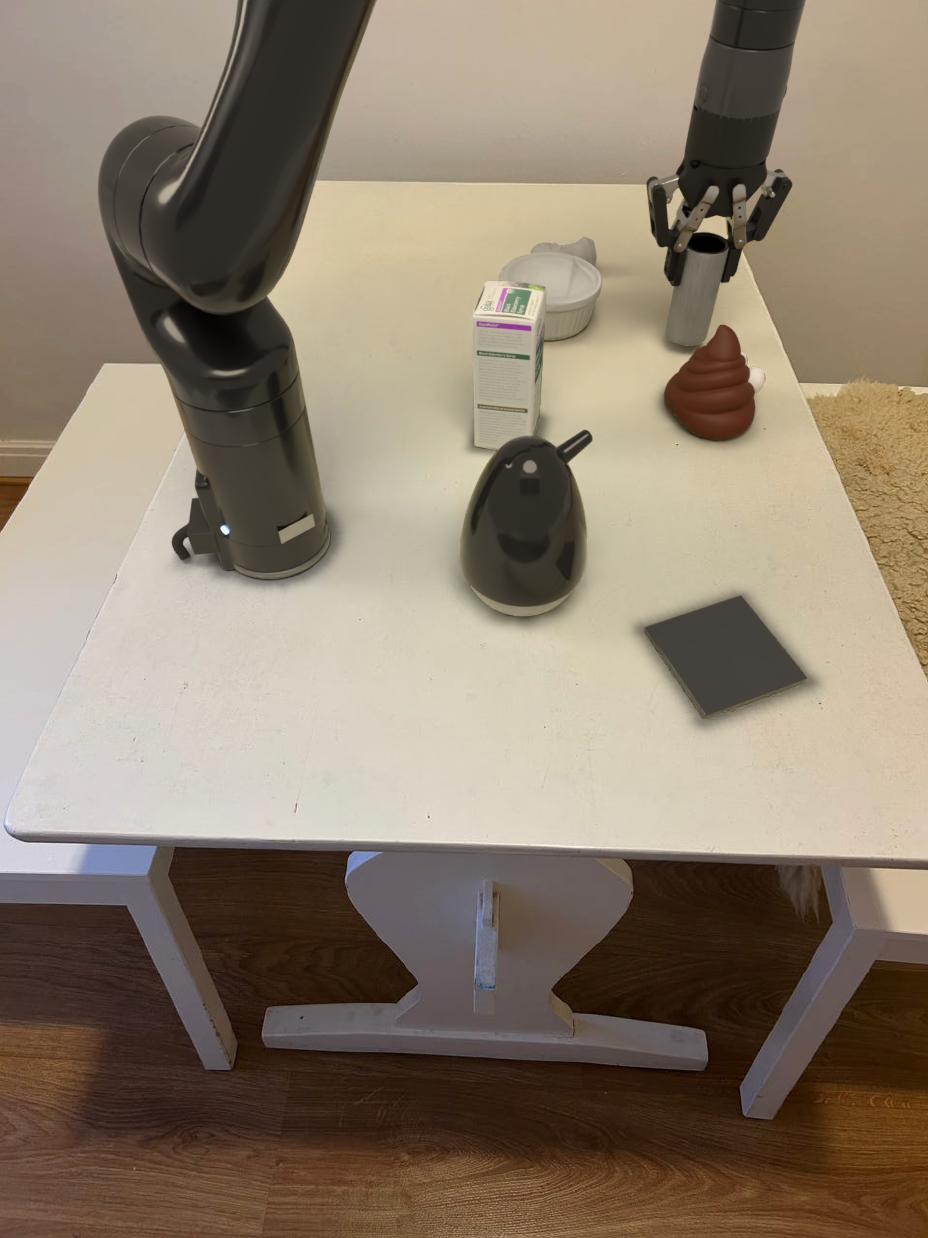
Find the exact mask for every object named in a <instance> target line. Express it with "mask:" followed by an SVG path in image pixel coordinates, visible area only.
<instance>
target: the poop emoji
mask: <svg viewBox="0 0 928 1238" xmlns="http://www.w3.org/2000/svg"><path fill="white" fill-rule="evenodd" d="M741 347H742V346H741V343H740V340H739V337H738V335H737V333H736V332H735V331H734V330H733V328H731V326H728V325H726V324H719V325H718V326H717V328H716V331H715V332H714V334H713V336H712V338H710V340H709V341H708V342H707V343H706V344H705V345H702V346H700V347H698V348H696V349H695V350H694V351H693V353H692V355H691V356H690V357H689V359H688V360H687V361H686V362H684V363H683V364H682V365H681V366H680V368H679V369H678V371H677V372H676V373H675V374H674V375H672V377H670V379H669V380H668V382H667V384H666V385H665V388H664V392H663V398H664V404H665V405H666V408H667V409H668V410H669V412H671V413H672V414H673V415H675V417H676V418H677V420H678V421H679V423H680V424H681V425H682V426H683V428H685V429H686V430H687V431H689V432H690V433H692V434H694V436H695V435H696V436H698V437H699V438H703V439H707V440H714V441H721V440H729V439H733V438H736V437H739V436H740V435H743V434H744V433H745V432H746V431H747V430H748V429H749V428H750V427H751V425H752V424H753V421H754V419H755V415H756V401H755V394H757V393H759V392H760V391H761V390H762V389H763V387H764V385H765V382H766V373H764V371H763V370H762V369H761V368H760V367H757V366H751V367H749V366H748V362H749V359H748V356H747V354H746V353H745V352H744V351H743V350H742V348H741Z"/></svg>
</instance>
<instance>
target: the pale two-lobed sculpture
mask: <svg viewBox="0 0 928 1238" xmlns="http://www.w3.org/2000/svg"><path fill="white" fill-rule="evenodd" d="M538 252H558V253H564V254H569V255H573V256H576V257H579V258H581V259H583V260H586V261H587V262H589V263H590V264H592V265H593V266H594V267H595V265H596V263H597V259H598V256H597V255H598V254H597V248H596V245H595V242H594V240H593V239H591V238H589V237H587V236H582V237H581V238H580V239H578V240H577V241H575V242H572V243H566V244H559V243H556V242H548V241H547V242H545V241H544V242H539V243H537V244H535V245H534V246H533V247H532V248H531V250H530V252H529V254H531V253H538Z"/></svg>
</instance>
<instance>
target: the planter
mask: <svg viewBox="0 0 928 1238" xmlns="http://www.w3.org/2000/svg"><path fill="white" fill-rule="evenodd" d="M726 239H727V238H725V237H724V236H722V235H720V234H717V233H714V232H708V231H698V232H697V231H696V232H694V233H693V235H692V237H691V239H690V241H689V242H688V244H687V246H686V248H685V251H686V252H687V254H686V259H685V263H684V268H683V273H682V278H681V282H680V285H679V286H673V289H672V294H671V299H670V303H669V309H668V314H667V317H666V323H665V329H664V335H665V337H666V339H668V340H669V341H670V342H671V343H673V344H676V345H680V346H685V347H693V346H697V345H700V344H703V343H704V342H705V341H706V339H707V337H708V334H709V329H710V326H711V322H712V317H713V314H714V310H715V304H716V303H717V302H716V301H717V297H718V294H719V290H720V286H721V278H722V274H723V270H724V266H725V262H726V258H727V254H728V250H729V243H728V241H727V240H726Z"/></svg>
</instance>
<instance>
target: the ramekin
mask: <svg viewBox="0 0 928 1238" xmlns="http://www.w3.org/2000/svg"><path fill="white" fill-rule="evenodd" d="M498 281H510V282H522V283H529V284H535V285H540V286H545V287H546V289H547V292H546V310H545V330H544V341H560V340H566V339H569V338H571V337H574V336H575V335H577V334H579V333H580V332H581V331H583V330H584V329H585V328H587V325H588V324H589V322H590V319H591V317H592V314H593V312H594V309H595V305H596V302H597V299H598V297H599V295H601V292H602V287H603V277H602V275H601V272H600V271H599V270H598V269H597V267H595V265H594V266H593V265H592V264H590V263H589V262H587V261H586V260H583V259H581V258H579V257H576V256H573V255H569V254H564V253H558V252H538V253H531V254H530V253H526V254H523V255H520V256H516V257H515V258H513V259H511V260H510V261H508V262H506V264H505V265H504V266H503V267H502V268H501V271H500V272H499V280H498Z"/></svg>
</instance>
